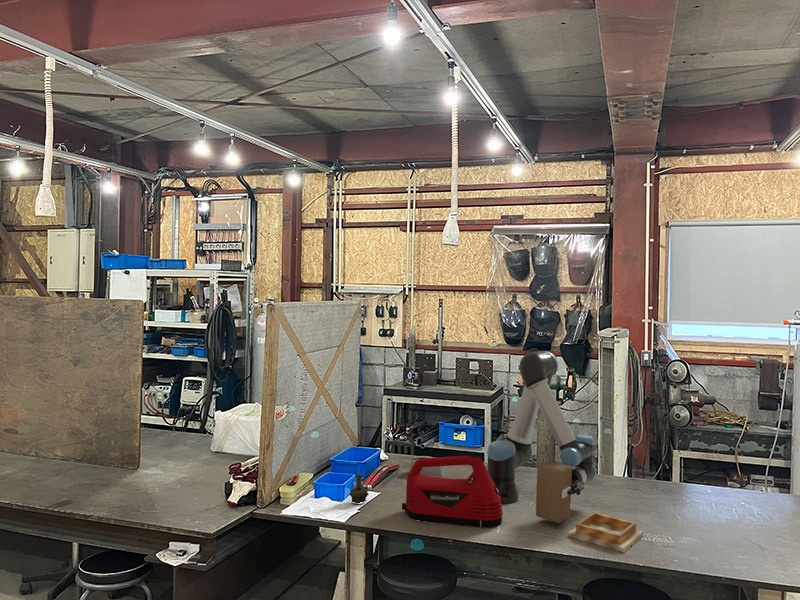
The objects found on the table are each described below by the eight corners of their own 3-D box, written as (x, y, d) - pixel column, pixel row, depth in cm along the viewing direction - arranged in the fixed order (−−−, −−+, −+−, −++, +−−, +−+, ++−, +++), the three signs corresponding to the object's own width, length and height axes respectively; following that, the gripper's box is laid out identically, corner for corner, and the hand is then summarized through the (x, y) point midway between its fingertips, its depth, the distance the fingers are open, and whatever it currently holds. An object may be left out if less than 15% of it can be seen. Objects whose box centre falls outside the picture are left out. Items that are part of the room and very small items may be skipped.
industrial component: (370, 501, 249) (371, 472, 249) (364, 507, 242) (364, 477, 242) (349, 498, 252) (350, 470, 252) (343, 504, 245) (343, 475, 245)
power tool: (407, 505, 245) (408, 445, 245) (504, 516, 235) (505, 453, 235) (397, 519, 230) (398, 454, 230) (500, 531, 220) (502, 463, 220)
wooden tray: (568, 536, 216) (568, 524, 216) (590, 521, 231) (590, 509, 231) (623, 552, 203) (623, 539, 203) (643, 535, 218) (643, 523, 218)
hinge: (444, 473, 291) (444, 455, 287) (443, 479, 286) (442, 461, 283) (411, 470, 295) (410, 453, 291) (409, 476, 290) (408, 458, 287)
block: (571, 517, 228) (572, 465, 228) (558, 524, 221) (560, 470, 221) (547, 510, 235) (549, 459, 235) (534, 516, 228) (536, 464, 228)
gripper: (600, 494, 234) (577, 508, 217) (547, 480, 249) (521, 493, 232) (601, 475, 234) (578, 488, 217) (548, 463, 249) (522, 474, 232)
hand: (548, 490), depth 225 cm, fingers closed on block, 10 cm apart
